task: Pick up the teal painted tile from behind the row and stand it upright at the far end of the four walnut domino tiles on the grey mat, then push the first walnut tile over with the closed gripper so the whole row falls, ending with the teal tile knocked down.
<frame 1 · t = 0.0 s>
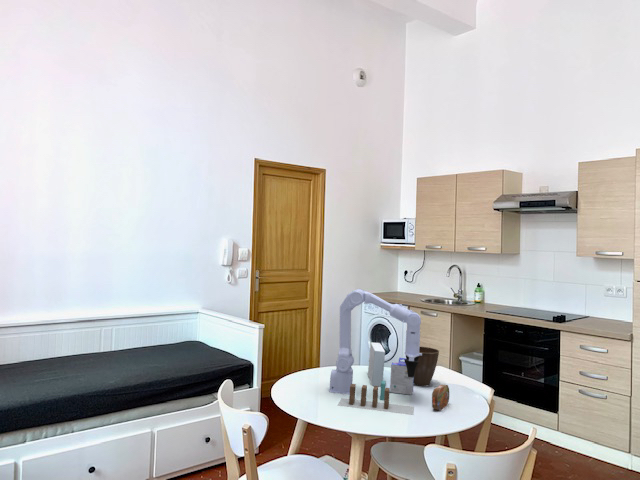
hand: (411, 374, 204), 10 cm above the table, tool pointing down, fingers open, 7 cm apart
walnut tile 3: (374, 405, 192), resting on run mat
plant pot: (420, 384, 228), on the table
tin: (440, 408, 195), on the table
walnut tile 1: (351, 403, 194), resting on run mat
ink cartridge box: (401, 392, 213), on the table
walnut tile 4: (386, 407, 191), resting on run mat
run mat: (376, 406, 192), on the table
walnut tile 2: (363, 404, 193), resting on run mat
skincare box: (375, 380, 231), on the table
teal end tile: (382, 399, 202), on the table
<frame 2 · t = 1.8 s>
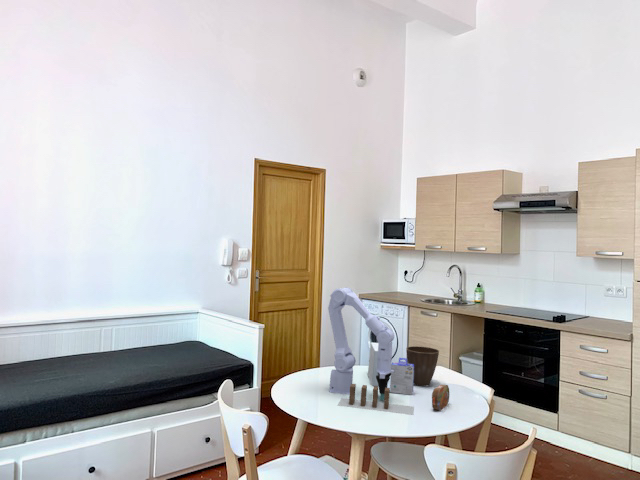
hand: (382, 391, 202), 3 cm above the table, tool pointing down, fingers closed on teal end tile, 4 cm apart
teal end tile: (382, 399, 202), on the table, touching gripper
everything else where it was.
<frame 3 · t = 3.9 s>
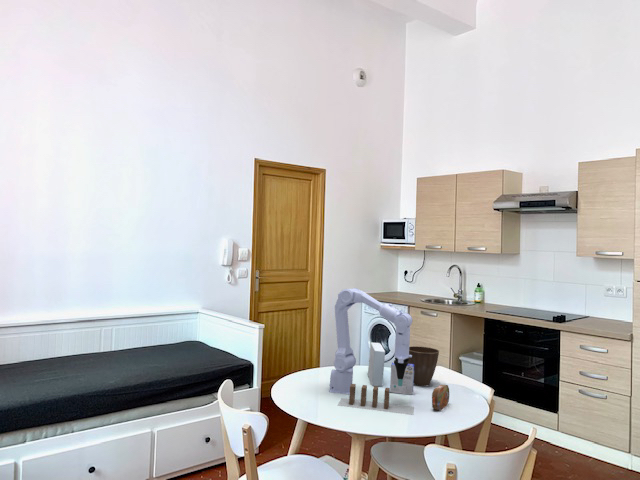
hand: (400, 377, 198), 10 cm above the table, tool pointing down, fingers closed on teal end tile, 4 cm apart
teal end tile: (400, 384, 198), point 8 cm above the table, touching gripper
everything else where it was.
when the fingers open (4 cm above the table, at t = 6.4 s): teal end tile stays where it is, resting on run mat.
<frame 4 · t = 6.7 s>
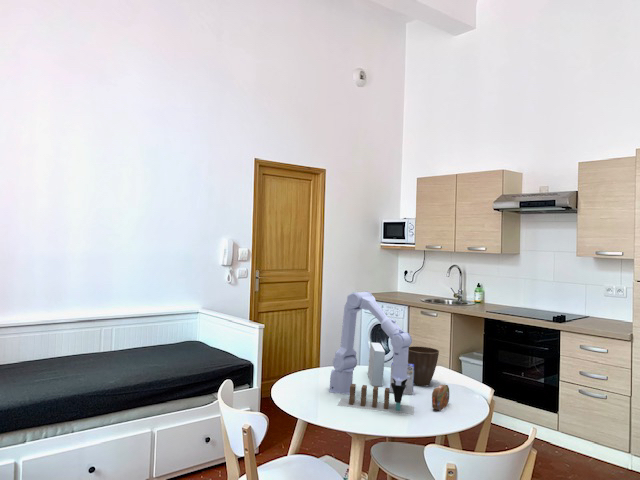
hand: (398, 399, 190), 4 cm above the table, tool pointing down, fingers open, 7 cm apart
teal end tile: (398, 408, 190), resting on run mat
everything else where it was.
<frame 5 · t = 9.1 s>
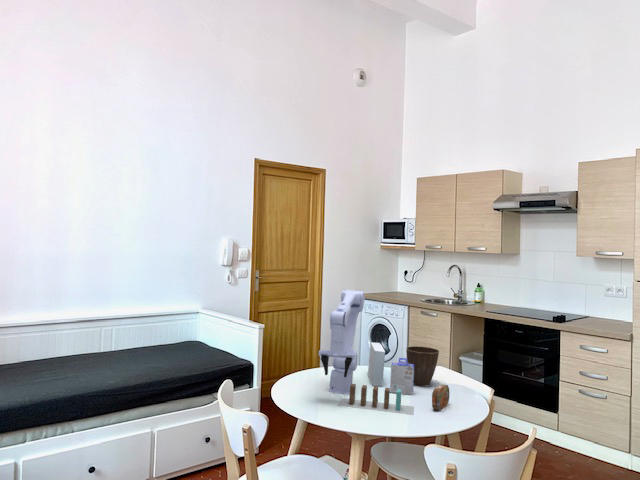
hand: (335, 375, 195), 10 cm above the table, tool pointing down, fingers open, 7 cm apart
nothing on the table moved.
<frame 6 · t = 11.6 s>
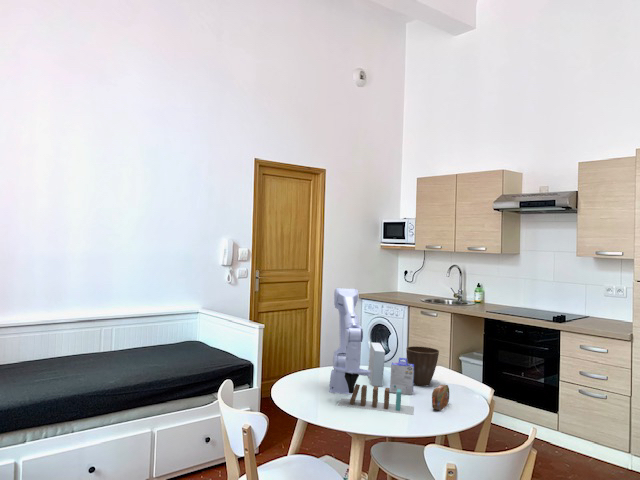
hand: (351, 392, 194), 4 cm above the table, tool pointing down, fingers closed
walnut tile 1: (352, 402, 194), point 1 cm above the table, tilted 15°, touching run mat
everything else where it was.
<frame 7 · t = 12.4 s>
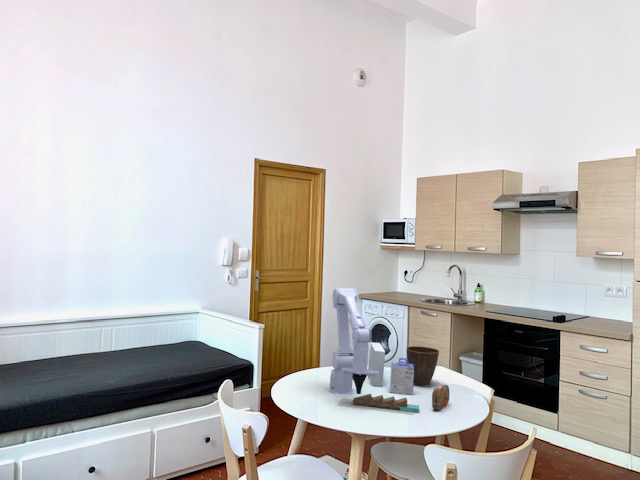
hand: (358, 393, 193), 4 cm above the table, tool pointing down, fingers closed
walnut tile 3: (377, 404, 192), point 1 cm above the table, tilted 70°, touching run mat, walnut tile 2, walnut tile 4
walnut tile 1: (354, 401, 194), point 1 cm above the table, tilted 69°, touching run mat, walnut tile 2
walnut tile 4: (389, 405, 191), point 1 cm above the table, tilted 69°, touching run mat, teal end tile, walnut tile 3
walnut tile 2: (365, 402, 193), point 1 cm above the table, tilted 69°, touching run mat, walnut tile 1, walnut tile 3
teal end tile: (400, 406, 190), point 1 cm above the table, tilted 90°, touching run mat, walnut tile 4
everything else where it was.
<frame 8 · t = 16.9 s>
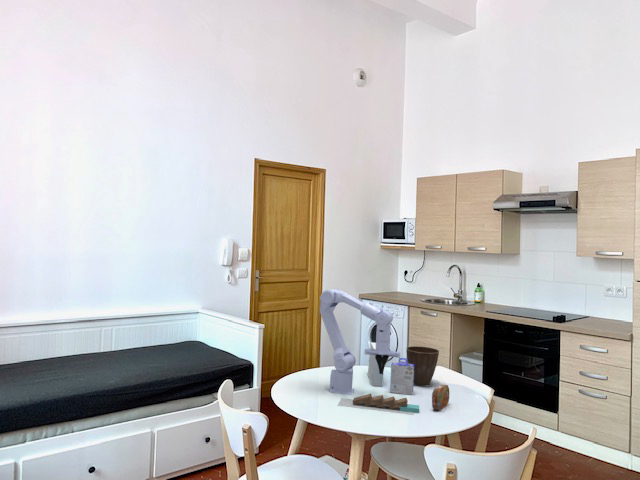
hand: (381, 373, 203), 10 cm above the table, tool pointing down, fingers closed
nothing on the table moved.
at the end: teal end tile tilted 90°; walnut tile 4 tilted 69°; teal end tile inside the target area (2.1 cm from its centre), point 1.1 cm above the table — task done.
